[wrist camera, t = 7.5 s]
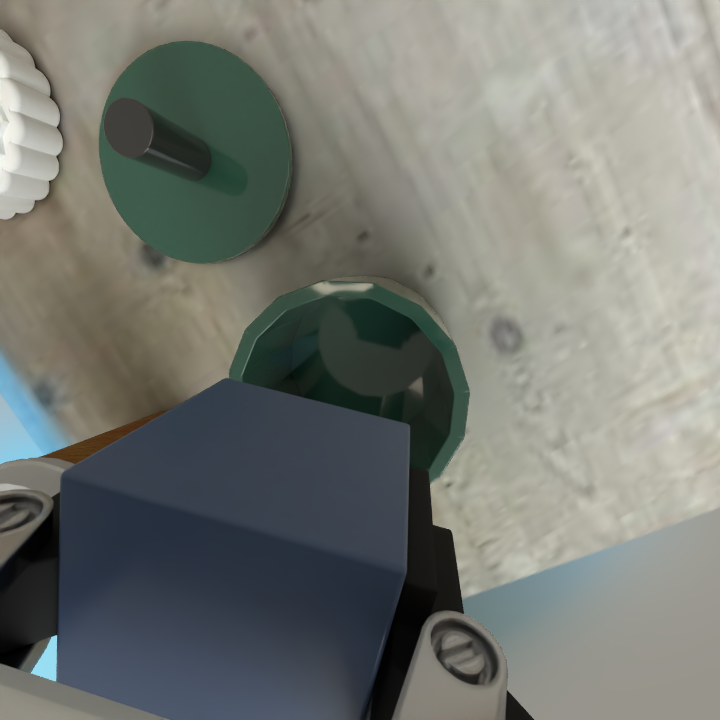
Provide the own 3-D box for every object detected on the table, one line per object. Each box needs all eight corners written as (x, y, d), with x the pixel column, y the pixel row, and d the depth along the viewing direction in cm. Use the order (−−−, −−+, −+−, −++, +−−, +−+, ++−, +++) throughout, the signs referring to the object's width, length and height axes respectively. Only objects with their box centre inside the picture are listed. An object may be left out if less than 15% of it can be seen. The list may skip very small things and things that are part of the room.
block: (204, 534, 11) (52, 726, 7) (225, 376, 10) (57, 471, 5) (368, 581, 11) (333, 822, 6) (410, 423, 10) (408, 571, 5)
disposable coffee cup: (230, 513, 31) (120, 661, 19) (119, 491, 32) (-48, 620, 20) (235, 401, 29) (114, 494, 17) (115, 381, 29) (-77, 456, 18)
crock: (323, 246, 25) (280, 236, 17) (482, 324, 25) (517, 352, 17) (261, 394, 28) (198, 447, 20) (402, 464, 28) (398, 547, 20)
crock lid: (142, 15, 23) (38, -81, 17) (327, 104, 23) (293, 42, 17) (92, 214, 27) (-10, 198, 20) (254, 294, 26) (203, 303, 20)
